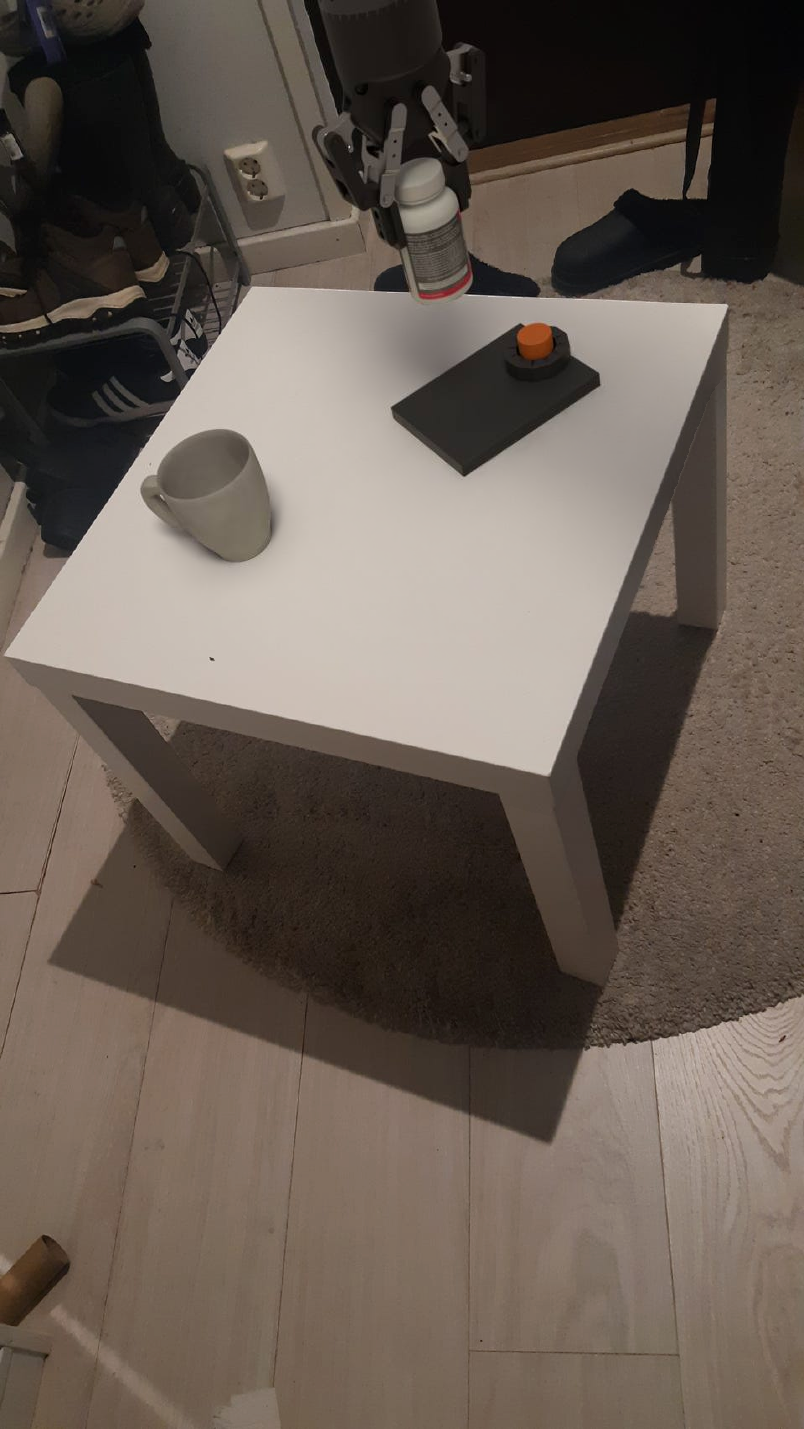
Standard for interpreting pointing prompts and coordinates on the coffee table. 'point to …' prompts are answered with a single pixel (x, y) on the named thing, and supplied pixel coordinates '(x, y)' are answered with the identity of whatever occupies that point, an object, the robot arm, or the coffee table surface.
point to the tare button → (535, 341)
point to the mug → (213, 493)
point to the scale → (494, 399)
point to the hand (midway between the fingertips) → (428, 225)
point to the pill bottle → (431, 234)
